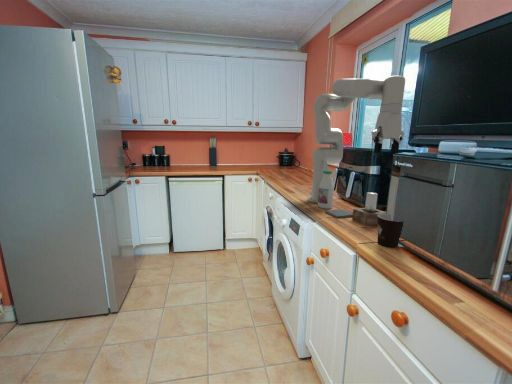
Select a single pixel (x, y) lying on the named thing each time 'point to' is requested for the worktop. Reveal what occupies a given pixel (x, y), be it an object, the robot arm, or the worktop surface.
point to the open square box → (366, 216)
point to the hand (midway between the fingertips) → (385, 153)
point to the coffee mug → (388, 231)
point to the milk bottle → (326, 191)
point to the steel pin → (371, 202)
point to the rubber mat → (339, 213)
